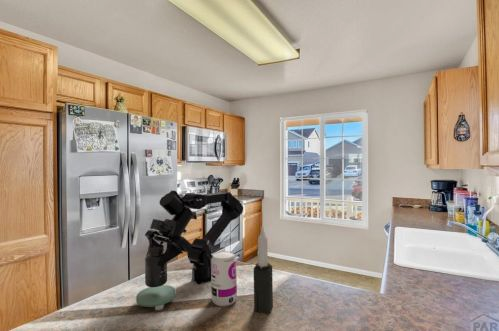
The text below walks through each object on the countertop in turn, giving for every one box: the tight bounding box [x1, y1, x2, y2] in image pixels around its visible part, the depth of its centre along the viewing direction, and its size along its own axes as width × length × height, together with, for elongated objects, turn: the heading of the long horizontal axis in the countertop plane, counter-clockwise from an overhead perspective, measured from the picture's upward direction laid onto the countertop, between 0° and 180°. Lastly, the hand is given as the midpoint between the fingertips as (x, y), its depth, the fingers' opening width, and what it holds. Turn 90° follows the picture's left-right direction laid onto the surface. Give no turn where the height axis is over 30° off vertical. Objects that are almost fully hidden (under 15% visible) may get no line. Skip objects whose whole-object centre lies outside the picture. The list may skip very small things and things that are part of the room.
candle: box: [253, 226, 274, 315], centre depth 81 cm, size 5×5×25 cm
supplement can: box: [210, 250, 238, 307], centre depth 86 cm, size 8×8×15 cm
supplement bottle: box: [144, 244, 168, 288], centre depth 86 cm, size 7×7×12 cm
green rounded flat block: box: [135, 284, 177, 311], centre depth 86 cm, size 12×12×3 cm
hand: (152, 263), depth 85 cm, fingers closed on supplement bottle, 7 cm apart
